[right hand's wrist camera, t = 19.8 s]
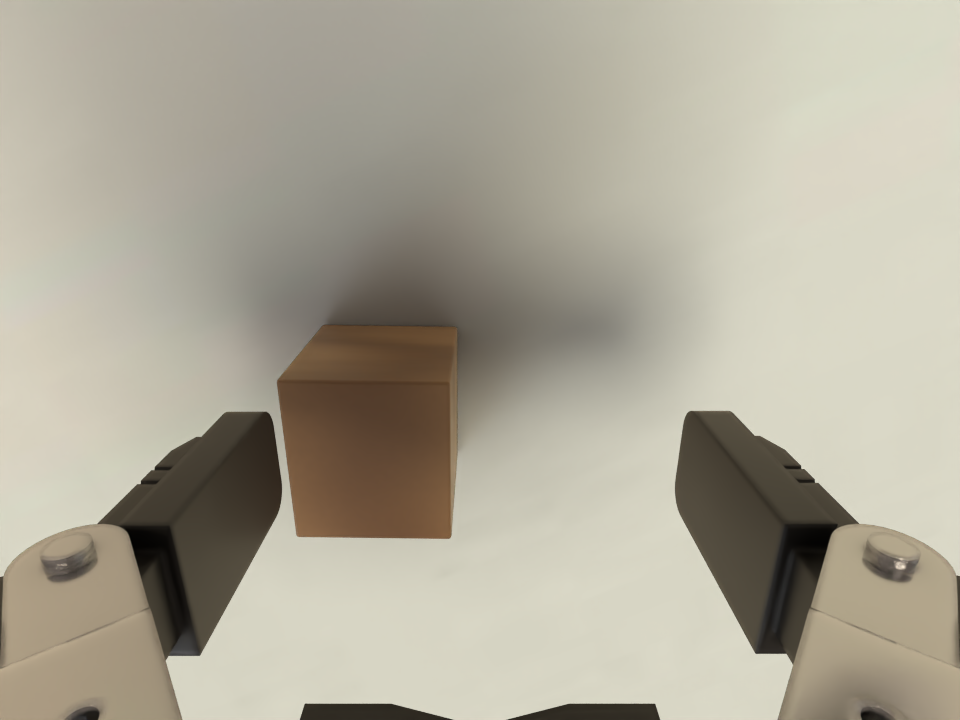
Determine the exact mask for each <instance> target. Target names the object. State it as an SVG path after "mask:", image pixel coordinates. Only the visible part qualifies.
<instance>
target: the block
mask: <svg viewBox="0 0 960 720" xmlns="http://www.w3.org/2000/svg"><path fill="white" fill-rule="evenodd" d="M277 387H278V394H279V402H280V410H281V418H282V426H283V433H284V441H285V449H286V457H287V465H288V472H289V480H290V488H291V496H292V504H293V511H294V519H295V527H296V534H297V536H298V537H350V538H429V539H449V538H450V537H451V534H452V521H453V507H454V494H455V480H456V466H457V328H456V327H432V326H360V325H323V326H322V327H321V328H320V329H319V331H318V332H317V333H316V334H315V335H314V337H313V338H312V339H311V340H310V341H309V343H308V344H307V345H306V346H305V348H304V349H303V350H302V351H301V352H300V354H299V355H298V356H297V357H296V358H295V360H294V361H293V362H292V363H291V364H290V366H289V367H288V368H287V369H286V370H285V372H284V373H283V374H282V375H281V376H280V378H279V379H278V380H277Z"/></svg>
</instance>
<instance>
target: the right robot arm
mask: <svg viewBox="0 0 960 720" xmlns="http://www.w3.org/2000/svg"><path fill="white" fill-rule="evenodd" d="M675 496H676V503H677V507H678V510H679V513H680V515H681V517H682V519H683V521H684V523H685V525H686V526H687V528H688V530H689V532H690V534H691V536H692V537H693V539H694V541H695V543H696V545H697V547H698V549H699V550H700V552H701V554H702V556H703V558H704V560H705V561H706V563H707V565H708V567H709V569H710V571H711V572H712V574H713V576H714V578H715V580H716V582H717V584H718V585H719V587H720V589H721V591H722V593H723V595H724V596H725V598H726V600H727V602H728V604H729V606H730V607H731V609H732V611H733V613H734V615H735V617H736V618H737V620H738V622H739V624H740V626H741V628H742V630H743V631H744V633H745V635H746V637H747V639H748V641H749V642H750V644H751V646H752V648H753V650H754V652H755V653H756V654H787V655H788V657H789V658H790V660H791V662H792V663H793V668H792V671H791V675H790V678H789V682H788V685H787V689H786V692H785V696H784V699H783V703H782V706H781V710H780V713H779V717H778V720H960V576H956V573H955V571H954V569H953V567H952V566H951V565H950V564H949V562H948V561H947V560H946V559H945V558H944V557H943V556H942V555H940V554H939V553H938V552H936V551H935V550H934V549H932V548H931V547H929V546H928V545H926V544H924V543H923V542H921V541H919V540H917V539H915V538H913V537H910V536H908V535H906V534H903V533H900V532H898V531H895V530H891V529H888V528H884V527H880V526H875V525H867V524H859V523H858V522H857V521H856V520H855V519H854V518H853V517H852V516H851V515H850V514H849V513H848V512H847V511H846V510H845V509H844V508H843V507H842V506H841V505H840V504H839V503H838V502H837V501H836V500H835V499H834V498H833V497H832V496H831V495H830V494H829V493H828V492H827V491H826V490H825V489H824V488H823V487H822V486H821V485H820V484H819V483H815V479H814V478H813V477H812V476H811V475H810V474H809V473H808V472H807V471H806V470H805V469H801V465H800V464H799V463H798V462H797V461H796V460H795V459H794V458H793V457H792V456H791V455H790V454H789V453H788V452H787V451H786V450H784V449H782V448H781V447H779V446H777V445H775V444H773V443H772V442H770V441H768V440H766V439H764V438H763V437H761V436H754V435H753V434H752V433H751V432H750V430H749V429H748V428H747V427H746V426H745V425H744V424H743V423H742V422H741V421H740V420H739V419H738V418H737V417H736V416H735V415H734V414H733V413H732V412H730V411H690V412H688V413H687V415H686V417H685V420H684V424H683V431H682V438H681V445H680V452H679V459H678V466H677V473H676V481H675ZM281 497H282V482H281V475H280V468H279V461H278V454H277V447H276V440H275V433H274V426H273V421H272V418H271V416H270V414H269V413H267V412H226V413H224V414H223V415H222V416H221V417H220V418H219V419H218V420H217V421H216V422H215V423H214V424H213V425H212V426H211V428H210V429H209V430H208V431H207V432H206V433H205V434H204V435H203V436H202V437H196V438H194V439H192V440H190V441H188V442H186V443H185V444H183V445H181V446H179V447H177V448H176V449H174V450H172V451H171V452H170V453H169V454H168V455H167V456H166V457H165V458H164V459H163V460H162V461H161V462H160V463H159V464H157V465H156V466H155V470H151V471H150V472H149V473H148V474H147V475H146V476H145V477H144V478H143V479H142V480H141V484H137V485H136V486H135V487H134V488H133V489H132V490H131V491H130V492H129V493H128V494H127V495H126V496H125V497H124V498H123V499H122V500H121V501H120V502H119V503H118V504H117V505H116V506H115V507H114V508H113V509H112V510H111V511H110V512H109V513H108V514H107V515H106V516H105V517H104V518H103V519H102V520H101V521H100V522H99V523H98V524H93V525H85V526H80V527H76V528H72V529H69V530H65V531H62V532H60V533H57V534H54V535H52V536H50V537H47V538H45V539H43V540H41V541H39V542H37V543H36V544H34V545H32V546H31V547H29V548H28V549H26V550H25V551H24V552H22V553H21V554H20V555H18V556H17V557H16V558H15V559H14V560H13V561H12V562H11V564H10V565H9V566H8V567H7V569H6V571H5V573H4V576H3V577H0V720H182V717H181V713H180V710H179V706H178V703H177V699H176V696H175V692H174V689H173V685H172V682H171V678H170V675H169V671H168V668H167V664H166V659H167V657H168V656H200V655H201V653H202V651H203V649H204V647H205V645H206V644H207V642H208V640H209V638H210V636H211V635H212V633H213V631H214V629H215V627H216V625H217V624H218V622H219V620H220V618H221V616H222V615H223V613H224V611H225V609H226V607H227V605H228V604H229V602H230V600H231V598H232V596H233V595H234V593H235V591H236V589H237V587H238V585H239V584H240V582H241V580H242V578H243V576H244V575H245V573H246V571H247V569H248V567H249V565H250V564H251V562H252V560H253V558H254V556H255V555H256V553H257V551H258V549H259V547H260V545H261V544H262V542H263V540H264V538H265V536H266V535H267V533H268V531H269V529H270V527H271V525H272V524H273V522H274V520H275V518H276V516H277V514H278V511H279V508H280V504H281ZM300 720H452V719H448V718H444V717H440V716H437V715H433V714H429V713H425V712H421V711H417V710H413V709H409V708H405V707H401V706H398V705H394V704H305V705H304V708H303V712H302V715H301V718H300ZM508 720H660V718H659V715H658V712H657V708H656V705H655V704H566V705H562V706H559V707H555V708H551V709H547V710H543V711H539V712H535V713H531V714H527V715H523V716H520V717H516V718H512V719H508Z"/></svg>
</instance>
